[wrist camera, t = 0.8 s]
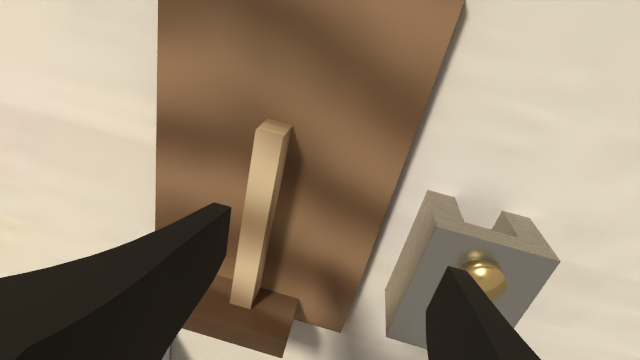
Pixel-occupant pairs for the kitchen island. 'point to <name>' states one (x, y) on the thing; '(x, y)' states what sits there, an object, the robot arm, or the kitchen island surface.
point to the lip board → (290, 144)
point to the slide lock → (465, 265)
